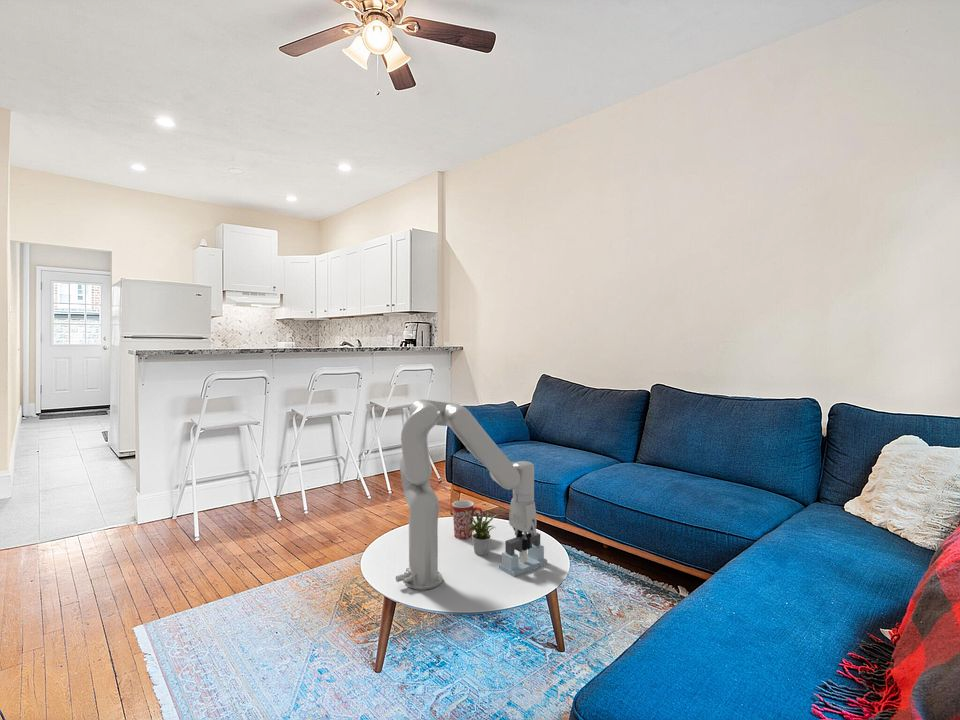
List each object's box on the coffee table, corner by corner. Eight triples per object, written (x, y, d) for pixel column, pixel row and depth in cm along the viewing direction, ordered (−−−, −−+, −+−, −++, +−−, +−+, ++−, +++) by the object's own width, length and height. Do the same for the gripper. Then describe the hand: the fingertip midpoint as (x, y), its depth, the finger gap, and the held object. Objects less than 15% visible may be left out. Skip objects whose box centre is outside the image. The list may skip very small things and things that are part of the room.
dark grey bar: (511, 555, 172) (511, 543, 172) (505, 552, 175) (505, 540, 175) (540, 544, 181) (540, 534, 181) (534, 542, 183) (534, 531, 183)
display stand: (513, 576, 170) (513, 556, 170) (498, 568, 176) (498, 548, 176) (547, 563, 180) (547, 544, 179) (531, 556, 186) (531, 537, 186)
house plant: (452, 555, 187) (452, 512, 186) (470, 542, 199) (470, 501, 198) (486, 563, 180) (486, 518, 179) (502, 549, 192) (502, 507, 192)
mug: (450, 540, 201) (450, 507, 200) (453, 531, 210) (453, 499, 209) (482, 540, 200) (482, 507, 200) (483, 531, 209) (483, 500, 209)
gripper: (500, 493, 181) (500, 543, 182) (531, 505, 168) (531, 558, 169) (516, 489, 186) (515, 538, 186) (547, 500, 173) (546, 553, 174)
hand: (523, 547), depth 178 cm, fingers closed on dark grey bar, 2 cm apart
